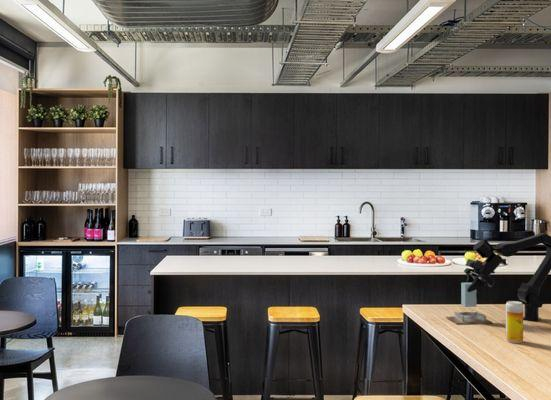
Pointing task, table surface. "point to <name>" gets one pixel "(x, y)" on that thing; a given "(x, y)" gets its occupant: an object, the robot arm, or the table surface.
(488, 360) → the table surface
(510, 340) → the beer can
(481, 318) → the brown framed base board
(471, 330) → the table surface
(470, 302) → the pale blue box
